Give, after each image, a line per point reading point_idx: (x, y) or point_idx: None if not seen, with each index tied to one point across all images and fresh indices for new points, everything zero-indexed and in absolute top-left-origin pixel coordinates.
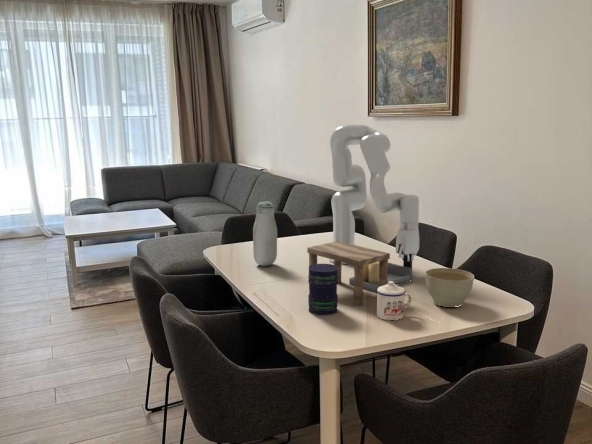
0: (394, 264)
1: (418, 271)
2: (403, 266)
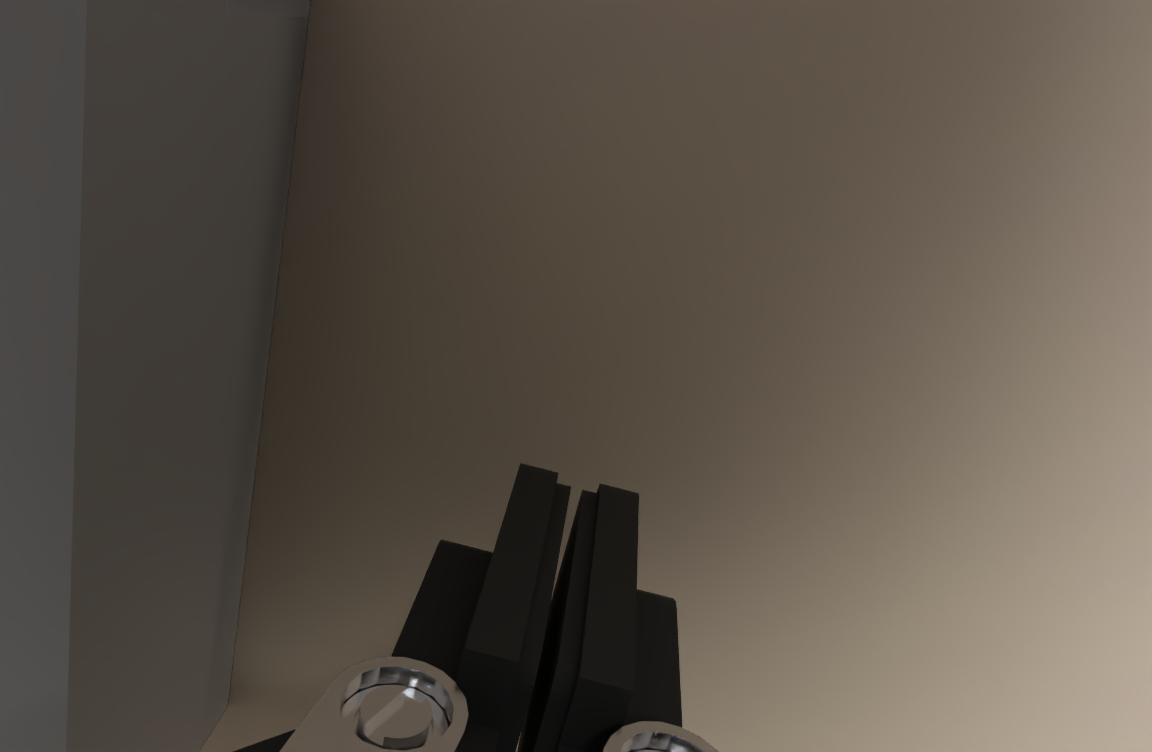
0: (18, 395)
1: (1051, 590)
2: (43, 735)
